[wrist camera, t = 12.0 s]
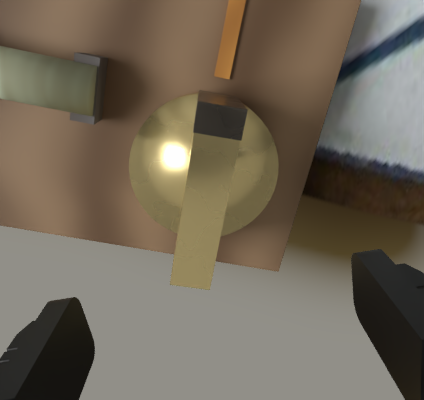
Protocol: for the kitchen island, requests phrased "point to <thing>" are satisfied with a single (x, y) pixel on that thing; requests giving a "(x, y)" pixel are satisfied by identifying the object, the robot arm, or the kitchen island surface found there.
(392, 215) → the kitchen island surface
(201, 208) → the wing knob
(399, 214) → the kitchen island surface
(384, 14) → the kitchen island surface
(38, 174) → the knob and handle board
